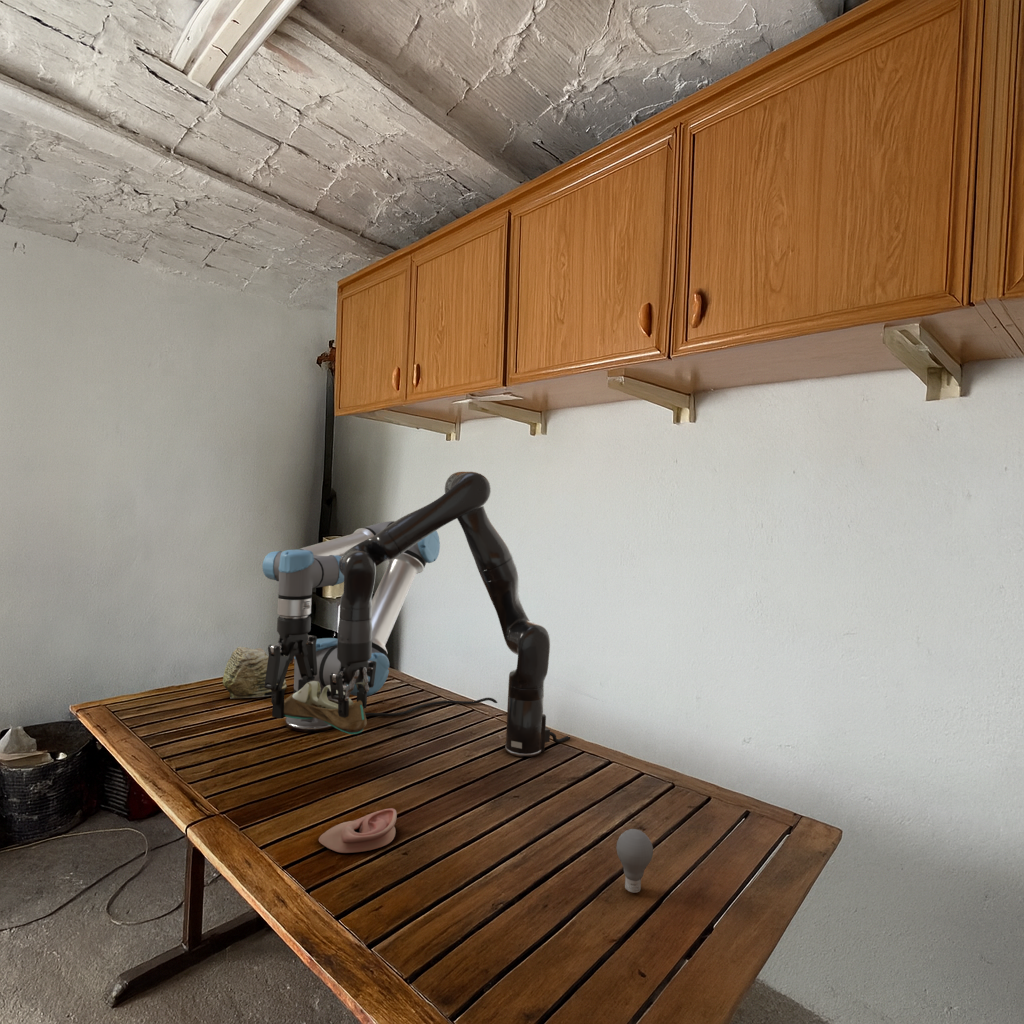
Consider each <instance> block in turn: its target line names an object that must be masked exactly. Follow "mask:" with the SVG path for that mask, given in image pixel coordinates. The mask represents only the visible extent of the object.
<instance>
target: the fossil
mask: <svg viewBox="0 0 1024 1024" xmlns="http://www.w3.org/2000/svg"><path fill="white" fill-rule="evenodd" d="M268 657H269V654H267V653H266V652H265V650H264V649H263V648H260V647H258V648H251V647H247V646H246V647H245V646H238V647H237V648H236V649H235V650H233V651H232V653H231V656H230V657H229V659H228V660H227V663H226V666H225V668H224V671H223V675H222V676H223V677H222V685H223V687H224V688H225V690H226V691H228V693H229V698H230V699H250V698H264V697H271V695H272V691H271V689H267V688H265V687H264V685H265V678H266V671H267V664H268ZM277 685H278V683H277ZM287 687H288V686H287V680H286V679H285V680H284V683H283V686H282V689H284V690H285V691H286V689H287Z"/></svg>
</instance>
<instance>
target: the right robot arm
mask: <svg viewBox="0 0 1024 1024" xmlns="http://www.w3.org/2000/svg"><path fill="white" fill-rule="evenodd" d="M491 492H492V487H491V484H490V481H489V479H488V478H487V477H486V476H485V475H483V474H481V473H479V472H476V471H457V472H453V473H452V474H450V475H449V477H448V478H447V479H446V482H445V485H444V494H442V495H441V496H440V497H438V498H437V499H435V500H434V501H432V502H430V503H429V504H427V505H425V506H423V507H421V508H419V509H416V510H413V511H412V512H410V513H407V514H406V515H404V516H402V517H400V518H399V519H397V520H395V522H394V523H392V524H391V525H389V526H388V527H386V528H385V529H383V530H382V531H380V532H379V533H378V534H376V535H375V536H373V537H371V538H369V539H367V540H365V541H363V542H361V543H359V544H357V545H355V546H354V547H352V548H350V549H349V550H347V551H346V552H345V553H344V554H343V555H342V556H341V558H340V561H339V569H340V571H341V573H342V574H343V575H344V582H343V593H342V594H341V596H340V599H339V600H340V601H339V619H338V620H339V621H338V626H337V639H338V644H337V659H338V660H339V661H340V663H341V665H340V669H339V671H338V672H337V673H331V674H330V687H331V698H332V699H336V700H338V715H339V716H340V717H344V718H346V717H348V715H349V700H348V699H349V698H350V696H351V694H350V693H351V691H352V690H353V689H354V686H355V684H356V686H357V690H358V691H359V692H357V696H356V702H358V701H362V703H363V708H364V710H365V709H367V703H368V696H367V692H368V691H369V688H370V687H371V688H372V687H373V686H374V680H375V671H376V662H375V661H370V660H369V659H370V658H371V654H372V619H371V618H372V599H373V593H374V590H375V589H374V588H375V583H376V575H377V567H378V566H379V565H381V564H382V563H384V562H387V561H388V560H392V559H394V558H396V557H398V556H399V555H400V554H402V553H403V552H405V551H406V550H408V549H409V548H411V547H412V546H414V545H415V544H416V543H418V542H419V541H421V540H422V539H424V538H425V537H427V536H428V535H430V534H431V533H433V532H434V531H438V530H439V529H441V528H443V527H444V526H446V525H447V524H450V523H452V522H453V521H455V520H457V522H458V523H459V525H460V527H461V529H462V532H463V534H464V536H465V539H466V541H467V544H468V547H469V550H470V553H471V554H472V557H473V560H474V562H475V563H474V564H475V565H476V569H477V571H478V573H479V576H480V578H481V580H482V582H483V585H484V587H485V589H486V591H487V594H488V596H489V599H490V601H491V603H492V605H493V607H494V610H495V612H496V616H497V618H498V621H499V625H500V628H501V632H502V636H503V638H504V642H505V644H506V647H507V648H508V649H509V650H510V652H511V653H512V654H515V655H517V662H516V669H515V668H514V669H512V670H511V671H510V672H509V674H508V685H507V688H508V689H507V711H506V730H505V731H506V733H505V746H504V747H505V748H504V749H505V752H506V753H507V754H509V755H512V756H513V757H514V756H515V757H519V758H531V757H535V756H536V757H537V756H539V755H540V754H541V753H545V749H546V748H545V747H546V743H550V742H551V737H552V740H553V742H554V743H556V744H561V743H564V742H567V741H569V740H571V736H570V737H568V736H569V735H566V736H564V737H562V738H557V735H556V733H554V732H553V731H551V729H550V728H548V727H547V725H546V724H547V715H546V713H544V696H545V680H546V677H547V675H548V672H549V663H550V656H551V655H550V653H551V637H550V634H549V631H548V629H547V628H546V627H544V626H543V625H541V624H539V623H536V622H533V621H531V620H530V618H529V617H528V615H527V613H526V611H525V609H524V607H523V604H522V601H521V598H520V575H519V570H518V567H517V564H516V562H515V560H514V557H513V555H512V552H511V550H510V548H509V546H508V545H507V543H506V542H505V540H504V539H503V537H502V535H500V533H499V532H498V530H497V528H495V526H494V525H493V524H492V522H491V520H490V519H489V517H488V513H487V511H486V509H485V505H486V503H488V501H489V499H490V497H491ZM368 676H369V677H370V682H369V680H368ZM344 683H346V684H349V686H345V685H344ZM336 690H337V691H338V694H336ZM344 690H346V692H345V695H344V693H343V691H344Z"/></svg>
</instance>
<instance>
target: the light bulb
mask: <svg viewBox="0 0 1024 1024" xmlns="http://www.w3.org/2000/svg"><path fill="white" fill-rule="evenodd" d="M615 849H616V854H617V857H618V859H619V861H620V863H621V865H622V867H623V873H624V874H623V875H624V876H625V878H624V888H625V890H627V891H628V892H630V893H634V894H635V893H639V892H640V891H641V889H642V887H641V886H642V879H643V877H644V875H645V871H646V868H647V867H648V866H649V864H650V863H651V861H652V859H653V855H654V847H653V843H652V841H651V838H649V836H648V835H647V834H646V833H645V832H643V831H642V830H641V829H636V828H629V829H627V830H625V831H623V832H622V833H621V834H620V835H619V837H618V839H617V841H616V847H615Z"/></svg>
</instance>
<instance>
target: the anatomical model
mask: <svg viewBox="0 0 1024 1024" xmlns="http://www.w3.org/2000/svg"><path fill="white" fill-rule="evenodd" d="M397 816H398V813H397V810H396V809H395V808H392V807H390V808H384V809H380V810H377V811H374V812H371V813H369V814H366V815H364V816H362V817H360V818H357V819H354V820H348V821H343V822H341V823H339V824H335V825H334V826H332V827H330V828H328V830H326V831H324V832H323V833H322V834H321V835H320V836H319V837H318V842H319V843H320V844H321V845H322V846H324V847H325V848H327V849H329V850H332V851H333V852H336V853H339V854H351V853H361V852H367V851H372V850H376V849H380V848H382V847H385V846H387V845H389V844H390V843H392V842H393V840H394V839H395V837H396V833H397V832H396V827H395V825H396V823H397V818H398V817H397Z"/></svg>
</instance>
